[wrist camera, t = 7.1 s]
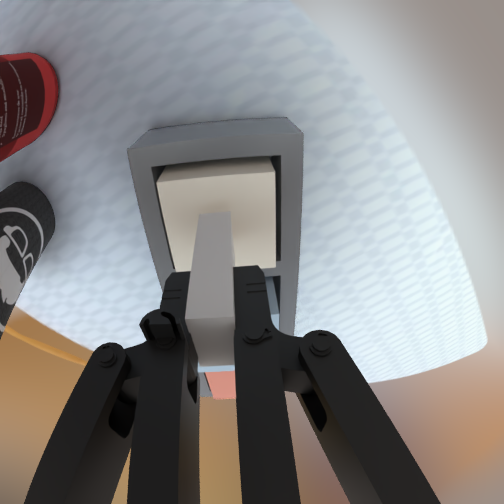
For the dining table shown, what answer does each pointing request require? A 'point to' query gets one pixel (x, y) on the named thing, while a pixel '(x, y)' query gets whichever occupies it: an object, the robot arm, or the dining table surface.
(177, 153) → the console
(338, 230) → the dining table surface
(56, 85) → the canned food
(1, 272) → the coffee cup
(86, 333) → the dining table surface
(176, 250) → the key ivory
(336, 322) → the dining table surface
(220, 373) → the key brick
